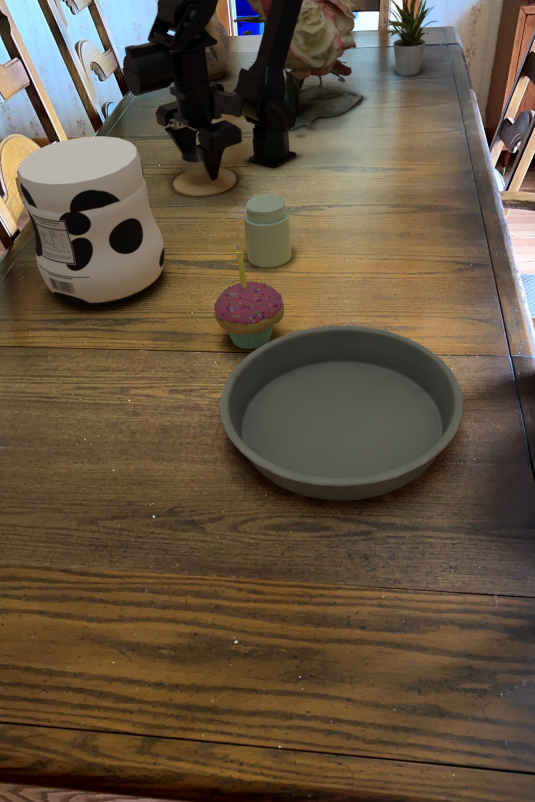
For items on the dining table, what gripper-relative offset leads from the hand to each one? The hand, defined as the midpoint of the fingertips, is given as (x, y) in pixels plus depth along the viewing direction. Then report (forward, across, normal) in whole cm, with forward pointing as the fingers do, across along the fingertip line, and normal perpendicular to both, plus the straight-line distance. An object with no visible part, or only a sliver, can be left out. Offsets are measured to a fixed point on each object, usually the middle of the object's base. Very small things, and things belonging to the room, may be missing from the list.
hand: (203, 173), depth 124 cm
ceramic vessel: (+2, +50, -32) cm, 60 cm away
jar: (+2, -29, +6) cm, 30 cm away
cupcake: (+2, -44, +20) cm, 48 cm away
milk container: (+2, -19, +28) cm, 34 cm away
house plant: (+2, +20, -66) cm, 69 cm away
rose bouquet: (+2, +20, -36) cm, 41 cm away
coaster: (+2, 0, 0) cm, 2 cm away
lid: (-3, 0, 0) cm, 3 cm away
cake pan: (+2, -63, +21) cm, 67 cm away
